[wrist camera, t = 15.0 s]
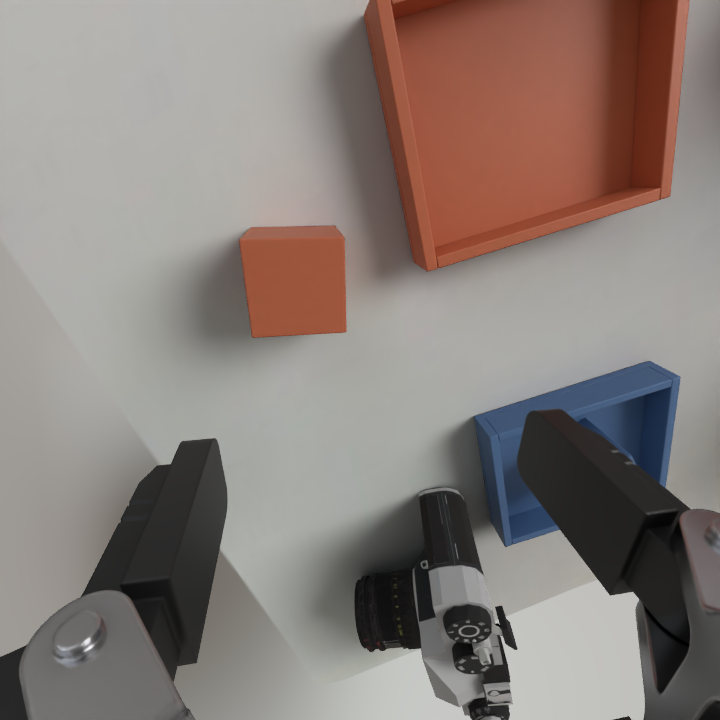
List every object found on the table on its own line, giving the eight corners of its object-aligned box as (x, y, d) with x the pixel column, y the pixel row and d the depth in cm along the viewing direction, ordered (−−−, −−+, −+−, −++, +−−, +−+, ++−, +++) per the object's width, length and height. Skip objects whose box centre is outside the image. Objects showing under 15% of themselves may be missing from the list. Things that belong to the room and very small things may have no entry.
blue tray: (490, 521, 32) (505, 547, 30) (473, 416, 27) (489, 437, 25) (639, 474, 32) (664, 496, 30) (649, 360, 27) (681, 376, 25)
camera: (336, 503, 30) (321, 645, 22) (474, 481, 29) (518, 626, 20) (379, 608, 37) (380, 750, 28) (493, 595, 35) (532, 742, 26)
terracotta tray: (413, 262, 22) (427, 272, 20) (363, 14, 17) (373, -11, 15) (633, 194, 22) (671, 196, 20) (647, -71, 17) (700, -109, 15)
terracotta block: (260, 309, 22) (251, 338, 18) (250, 227, 20) (238, 239, 16) (337, 305, 22) (346, 332, 18) (335, 225, 20) (344, 236, 16)
